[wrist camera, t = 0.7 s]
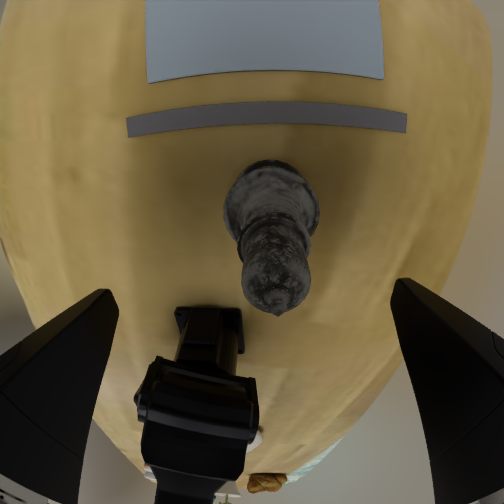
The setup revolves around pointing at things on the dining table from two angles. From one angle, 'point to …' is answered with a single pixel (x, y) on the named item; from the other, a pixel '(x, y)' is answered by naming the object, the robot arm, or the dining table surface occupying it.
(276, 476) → the bread roll
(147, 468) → the supplement bottle
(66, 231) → the dining table surface
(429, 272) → the dining table surface
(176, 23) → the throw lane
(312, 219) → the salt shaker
